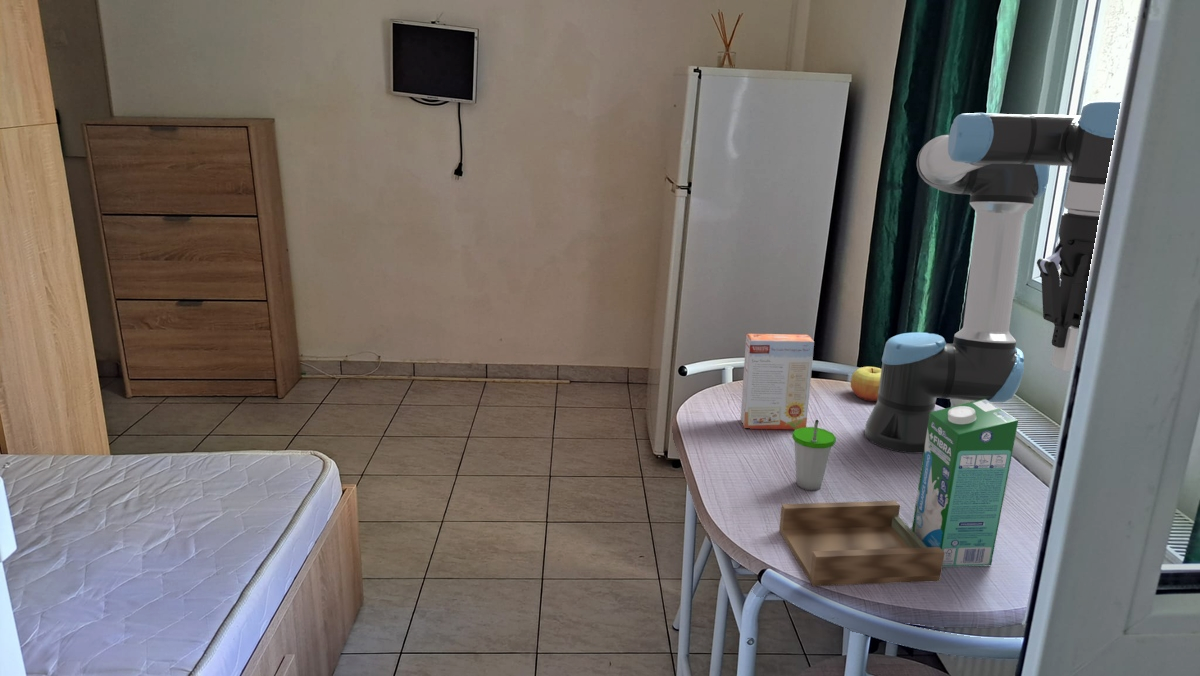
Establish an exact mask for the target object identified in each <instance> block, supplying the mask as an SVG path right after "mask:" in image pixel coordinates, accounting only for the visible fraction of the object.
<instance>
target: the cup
mask: <svg viewBox="0 0 1200 676" xmlns="http://www.w3.org/2000/svg"><path fill="white" fill-rule="evenodd" d="M814 421H815V422H814V427H813V426H809V427H808V426H806V427H802V428H798V429H795V430H794V431H793V432H792V436H791V438H792V439H793V440H794V455H795V457H794V458H795V483H796V485H797V486H798V488H801V489H802V490H806V491H818V490H820V489H821V488H822V485H823V481H824V477H825V474H826V470H827V467H828V463H829V460H830V456H831V451H832V448H833V446H834V445H835V444H836V441H837V438H836V436H835V434H834V433H833V432H831V431H829V430H826V429H824V428H819V420H818V419H815V420H814Z"/></svg>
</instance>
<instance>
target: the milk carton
mask: <svg viewBox="0 0 1200 676" xmlns="http://www.w3.org/2000/svg"><path fill="white" fill-rule="evenodd" d="M1018 425H1019V420H1018V419H1017V418H1015V417H1013V416H1012V414H1009V413H1007V412H1006V411H1005V410H1003V409H1001V408H1000V407H998V406H997V405H995V404H994V403H993V402H989V401H988V400H986V399H982V400H978V401H970V402H966V403H961V404H957V405H955V406H950V407H946V408H942V409H939V410H935V411H933V412H930V415H929V421H928V428H927V434H926V441H925V447H924V452H923V453H922V454H923V455H922V461H921V469H920V474H919V481H918V487H917V494H916V501H915V507H914V515H913V520H912V527H911V530H912V531H913V532H914V533H915V534H916V535H917V537H918V538H919V539H920V540H921V541H922V542H923V543H924V544H925V545H926V546H927V547H940V548H941V549H942V550H943V551H944V552H945V553H944V559H943V565H942V568H951V567H952V568H953V567H954V568H955V567H982V566H983V567H985V566H986V567H989V565H992V561H993V558H994V557H993V556H994V551H995V546H996V542H997V540H996V539H997V535H998V531H999V526H1000V525H999V524H1000V520H1001V514H1002V509H1003V505H1004V498H1005V492H1006V488H1007V483H1008V479H1009V478H1008V477H1009V473H1010V472H1009V471H1010V467H1011V461H1012V456H1013V451H1014V450H1013V449H1014V445H1015V441H1016V434H1017V430H1018Z"/></svg>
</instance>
